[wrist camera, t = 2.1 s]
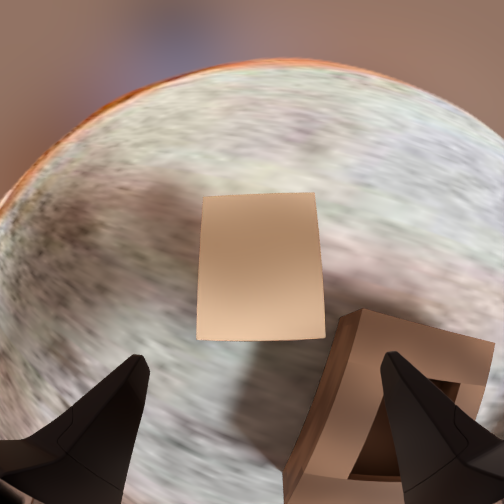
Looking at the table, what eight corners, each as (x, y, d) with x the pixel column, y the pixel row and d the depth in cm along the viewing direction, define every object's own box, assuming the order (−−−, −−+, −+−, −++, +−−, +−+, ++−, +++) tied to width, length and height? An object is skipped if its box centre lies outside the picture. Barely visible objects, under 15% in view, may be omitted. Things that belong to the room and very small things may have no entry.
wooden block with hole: (402, 485, 14) (429, 512, 9) (282, 472, 16) (284, 508, 10) (454, 346, 17) (495, 343, 12) (340, 317, 19) (363, 308, 14)
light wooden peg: (293, 340, 19) (325, 338, 7) (243, 341, 19) (196, 339, 7) (291, 279, 20) (314, 192, 9) (243, 280, 21) (203, 196, 9)
